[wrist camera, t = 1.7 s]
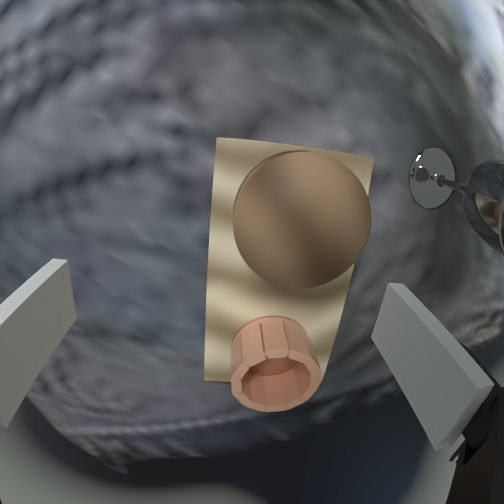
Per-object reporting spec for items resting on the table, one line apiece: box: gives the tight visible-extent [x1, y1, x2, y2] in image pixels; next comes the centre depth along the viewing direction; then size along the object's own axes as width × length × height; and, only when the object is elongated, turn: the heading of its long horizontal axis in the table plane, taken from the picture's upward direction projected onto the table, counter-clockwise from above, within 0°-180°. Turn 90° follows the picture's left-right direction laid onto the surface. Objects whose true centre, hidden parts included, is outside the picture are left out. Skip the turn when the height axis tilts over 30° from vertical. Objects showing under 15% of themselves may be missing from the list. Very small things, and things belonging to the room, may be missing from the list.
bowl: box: [231, 315, 321, 412], centre depth 33 cm, size 9×9×6 cm
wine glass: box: [409, 147, 504, 256], centre depth 24 cm, size 8×8×15 cm
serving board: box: [204, 137, 374, 383], centre depth 33 cm, size 28×15×2 cm, turn 174°
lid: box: [233, 150, 371, 289], centre depth 26 cm, size 11×11×3 cm
